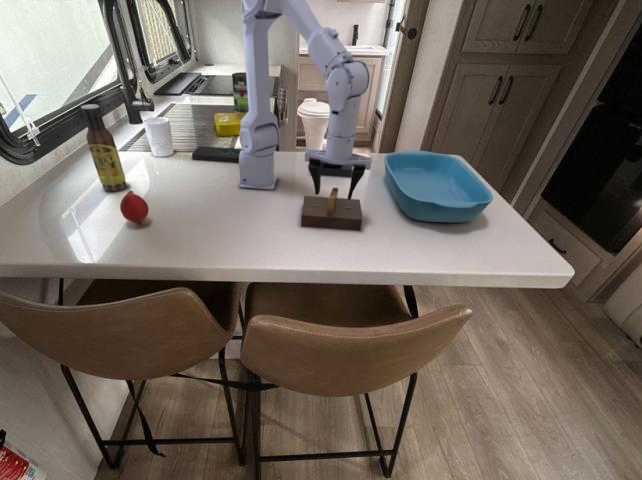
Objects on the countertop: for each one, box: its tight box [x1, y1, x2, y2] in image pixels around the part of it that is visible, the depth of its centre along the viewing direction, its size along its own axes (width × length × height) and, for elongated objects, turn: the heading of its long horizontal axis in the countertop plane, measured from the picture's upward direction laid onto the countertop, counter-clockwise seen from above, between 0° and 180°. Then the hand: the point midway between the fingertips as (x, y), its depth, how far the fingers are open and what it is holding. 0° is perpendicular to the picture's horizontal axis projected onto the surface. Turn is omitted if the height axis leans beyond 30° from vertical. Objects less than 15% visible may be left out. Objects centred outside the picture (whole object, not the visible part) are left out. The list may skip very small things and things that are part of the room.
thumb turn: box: [327, 186, 339, 212], centre depth 78 cm, size 6×1×4 cm, turn 164°
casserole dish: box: [384, 150, 494, 223], centre depth 89 cm, size 37×22×7 cm, turn 179°
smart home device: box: [191, 145, 244, 164], centre depth 109 cm, size 8×2×20 cm
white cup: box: [142, 116, 175, 158], centre depth 107 cm, size 8×8×10 cm
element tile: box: [213, 112, 247, 137], centre depth 129 cm, size 15×15×5 cm
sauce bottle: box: [80, 103, 127, 192], centre depth 84 cm, size 6×6×20 cm
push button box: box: [321, 163, 353, 178], centre depth 102 cm, size 12×9×4 cm
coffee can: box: [231, 72, 249, 113], centre depth 145 cm, size 10×10×14 cm
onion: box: [119, 189, 150, 224], centre depth 75 cm, size 6×6×8 cm
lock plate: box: [300, 195, 363, 232], centre depth 81 cm, size 14×10×3 cm
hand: (333, 195), depth 78 cm, fingers open, 7 cm apart
